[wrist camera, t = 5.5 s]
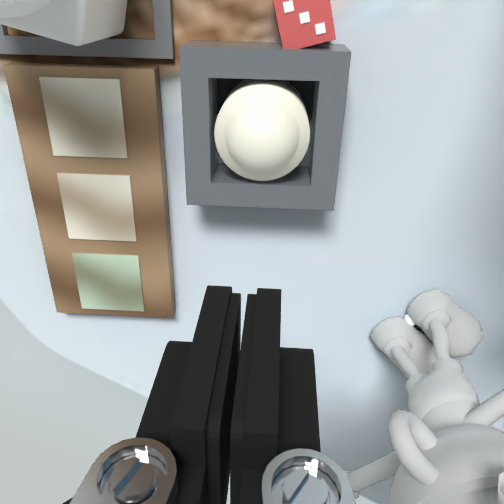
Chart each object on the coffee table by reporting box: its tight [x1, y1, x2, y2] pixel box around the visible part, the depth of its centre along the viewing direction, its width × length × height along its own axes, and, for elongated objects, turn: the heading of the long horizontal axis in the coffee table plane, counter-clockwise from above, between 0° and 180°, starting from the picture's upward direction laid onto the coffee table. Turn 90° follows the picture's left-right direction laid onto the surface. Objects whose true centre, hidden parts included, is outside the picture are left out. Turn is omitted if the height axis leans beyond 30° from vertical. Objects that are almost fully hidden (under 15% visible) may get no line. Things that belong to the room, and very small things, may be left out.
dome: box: [214, 79, 310, 181], centre depth 28 cm, size 5×5×5 cm
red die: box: [273, 0, 336, 49], centre depth 26 cm, size 3×3×3 cm
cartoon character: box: [344, 289, 504, 504], centre depth 28 cm, size 25×12×20 cm, turn 137°
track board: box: [3, 62, 175, 318], centre depth 33 cm, size 18×9×1 cm, turn 179°
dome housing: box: [179, 40, 351, 211], centre depth 29 cm, size 9×9×4 cm
